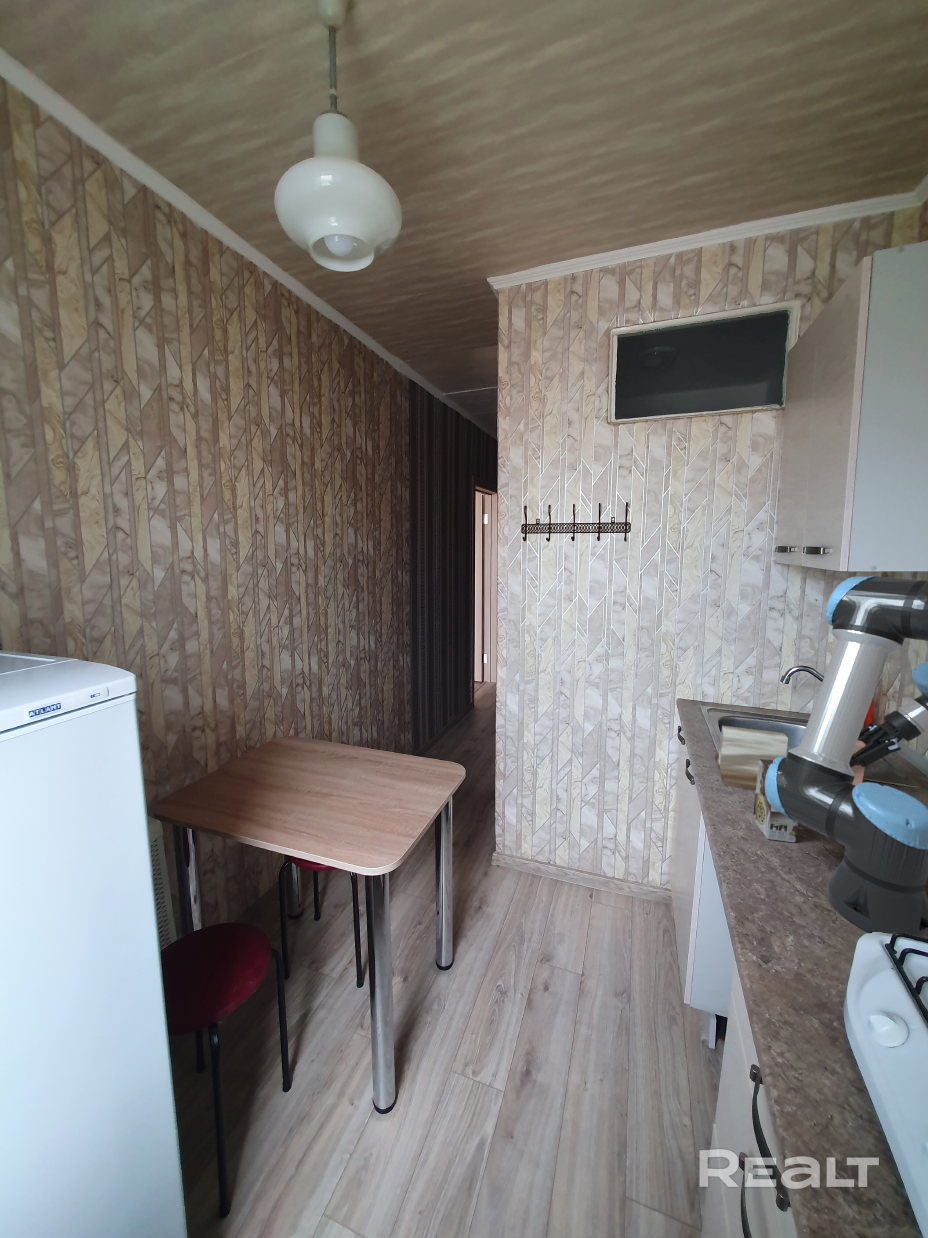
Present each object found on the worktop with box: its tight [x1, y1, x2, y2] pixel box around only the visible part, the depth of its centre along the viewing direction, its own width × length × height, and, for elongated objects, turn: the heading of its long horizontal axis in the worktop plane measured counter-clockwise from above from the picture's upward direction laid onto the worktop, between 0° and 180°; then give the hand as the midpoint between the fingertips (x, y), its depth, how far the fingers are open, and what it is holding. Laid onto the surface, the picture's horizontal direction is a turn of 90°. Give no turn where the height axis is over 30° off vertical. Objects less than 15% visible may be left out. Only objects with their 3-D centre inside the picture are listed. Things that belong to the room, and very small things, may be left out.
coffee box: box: [752, 759, 799, 843], centre depth 113 cm, size 9×6×16 cm
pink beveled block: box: [851, 740, 866, 786], centre depth 131 cm, size 4×8×12 cm, turn 69°
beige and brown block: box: [714, 725, 789, 791], centre depth 137 cm, size 18×26×14 cm
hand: (826, 768), depth 133 cm, fingers closed on pink beveled block, 4 cm apart
